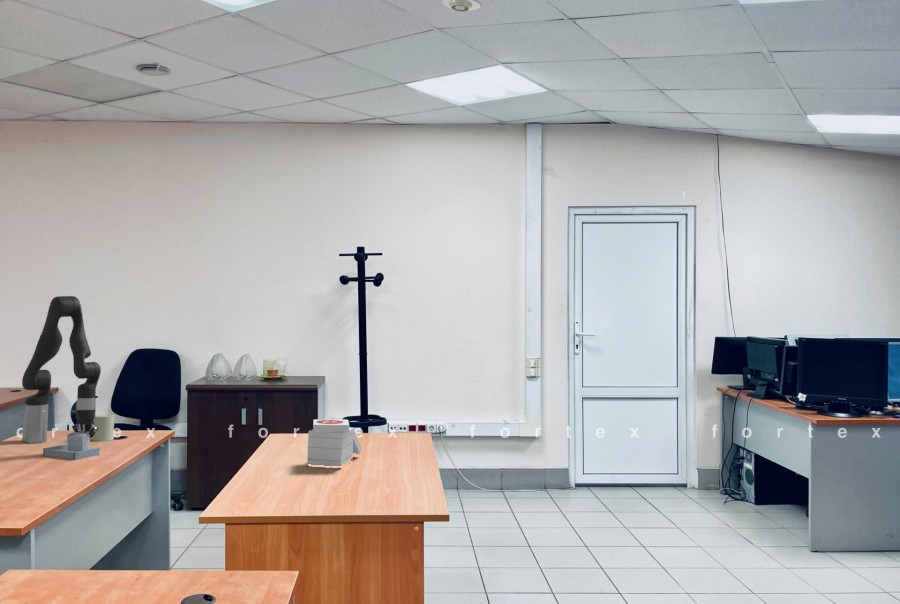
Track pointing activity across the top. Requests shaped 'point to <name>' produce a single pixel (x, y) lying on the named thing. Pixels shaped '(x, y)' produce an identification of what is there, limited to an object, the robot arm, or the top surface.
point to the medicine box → (78, 441)
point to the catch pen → (69, 452)
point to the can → (104, 427)
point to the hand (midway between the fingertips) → (84, 447)
